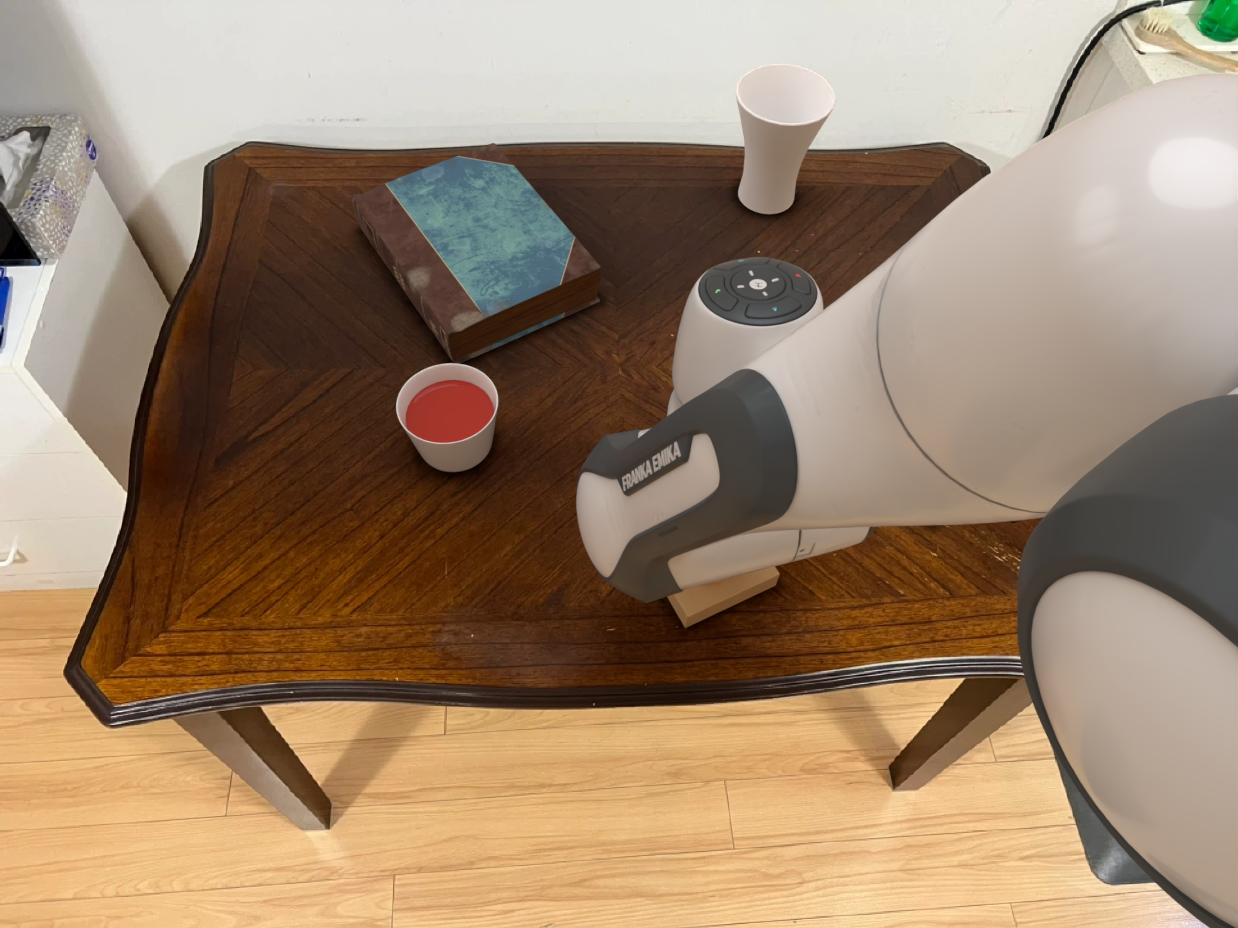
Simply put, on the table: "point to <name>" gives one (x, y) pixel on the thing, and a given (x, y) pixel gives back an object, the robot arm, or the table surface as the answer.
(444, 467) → the white round tub
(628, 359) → the table surface
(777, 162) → the cup
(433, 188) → the book
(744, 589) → the call button
